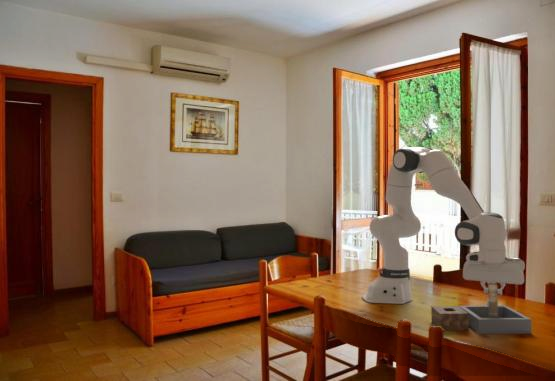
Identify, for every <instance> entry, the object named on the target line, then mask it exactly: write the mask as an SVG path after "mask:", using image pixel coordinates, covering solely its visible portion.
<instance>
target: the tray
mask: <svg viewBox="0 0 555 381" xmlns="http://www.w3.org/2000/svg"><path fill="white" fill-rule="evenodd" d="M458 306H459V307H460V308H461V309H463V310H464V311H466V312H467V313H468V317H469V328H470V329H472V330H473V331H475V332H476V333H478V334H479V335H482V334H483V335H500V334H501V335H503V334H505V335H506V334H507V335H511V334H512V335H513V334H516V335H519V334H520V335H521V334H523V335H524V334H525V335H528V334H529V335H530V334H532V333H533V332H532V331H533V330H532V319H531V318H530V317H528V316H526V315H524V314H523V313H521V312H520V311H519V312H518V311H517V310H515V309H514V308H511V307H509V306H508V305H506V304H505V305H498V318H489V306H486V305H458Z"/></svg>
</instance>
